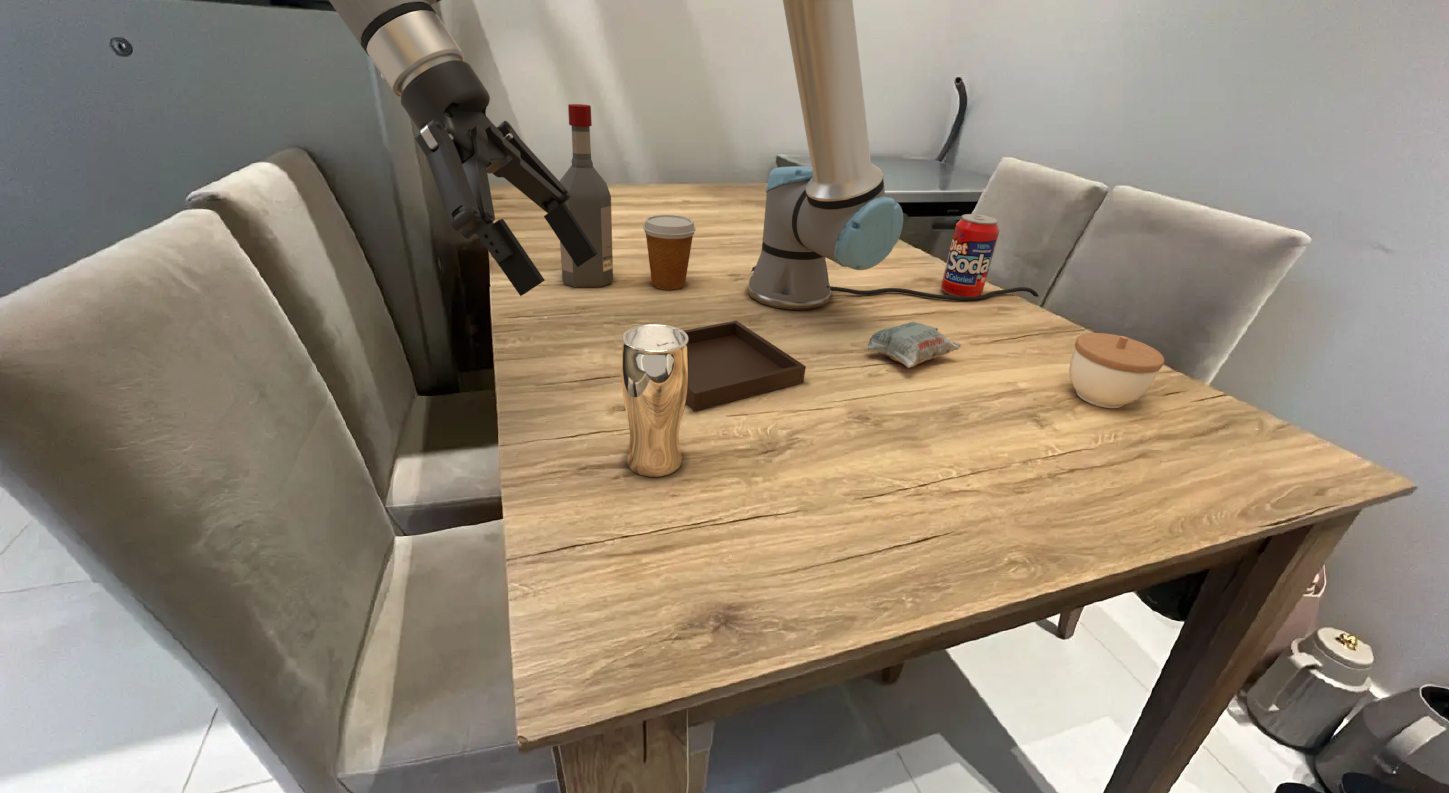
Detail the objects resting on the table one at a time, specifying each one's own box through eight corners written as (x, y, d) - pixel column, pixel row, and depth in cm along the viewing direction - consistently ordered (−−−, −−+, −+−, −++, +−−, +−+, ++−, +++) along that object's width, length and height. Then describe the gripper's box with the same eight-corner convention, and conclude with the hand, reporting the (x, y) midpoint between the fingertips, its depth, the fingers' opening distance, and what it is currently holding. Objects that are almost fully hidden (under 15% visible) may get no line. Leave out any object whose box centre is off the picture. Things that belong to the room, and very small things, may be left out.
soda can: (977, 289, 127) (997, 215, 120) (984, 303, 121) (1006, 225, 113) (937, 285, 128) (955, 211, 121) (942, 298, 122) (961, 220, 114)
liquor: (563, 288, 114) (551, 107, 99) (562, 272, 121) (550, 101, 106) (614, 287, 116) (609, 109, 101) (610, 271, 123) (605, 103, 109)
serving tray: (735, 335, 100) (736, 320, 99) (803, 382, 88) (806, 366, 86) (634, 355, 92) (634, 339, 90) (694, 411, 79) (695, 393, 78)
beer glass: (610, 468, 68) (606, 342, 60) (641, 437, 73) (641, 318, 66) (668, 487, 66) (671, 358, 58) (695, 453, 71) (702, 331, 64)
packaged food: (956, 361, 97) (964, 331, 95) (906, 379, 91) (913, 347, 88) (911, 341, 103) (918, 312, 101) (862, 356, 97) (867, 326, 94)
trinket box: (1155, 422, 84) (1184, 359, 79) (1071, 410, 85) (1095, 348, 81) (1125, 385, 93) (1150, 327, 89) (1050, 375, 95) (1070, 317, 90)
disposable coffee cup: (686, 295, 114) (688, 230, 108) (636, 289, 116) (635, 223, 110) (698, 279, 123) (701, 217, 117) (651, 273, 124) (652, 211, 118)
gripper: (476, 107, 72) (582, 267, 78) (306, 97, 50) (472, 324, 55) (523, 67, 70) (629, 235, 75) (366, 38, 47) (534, 282, 52)
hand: (563, 273), depth 65 cm, fingers open, 13 cm apart
